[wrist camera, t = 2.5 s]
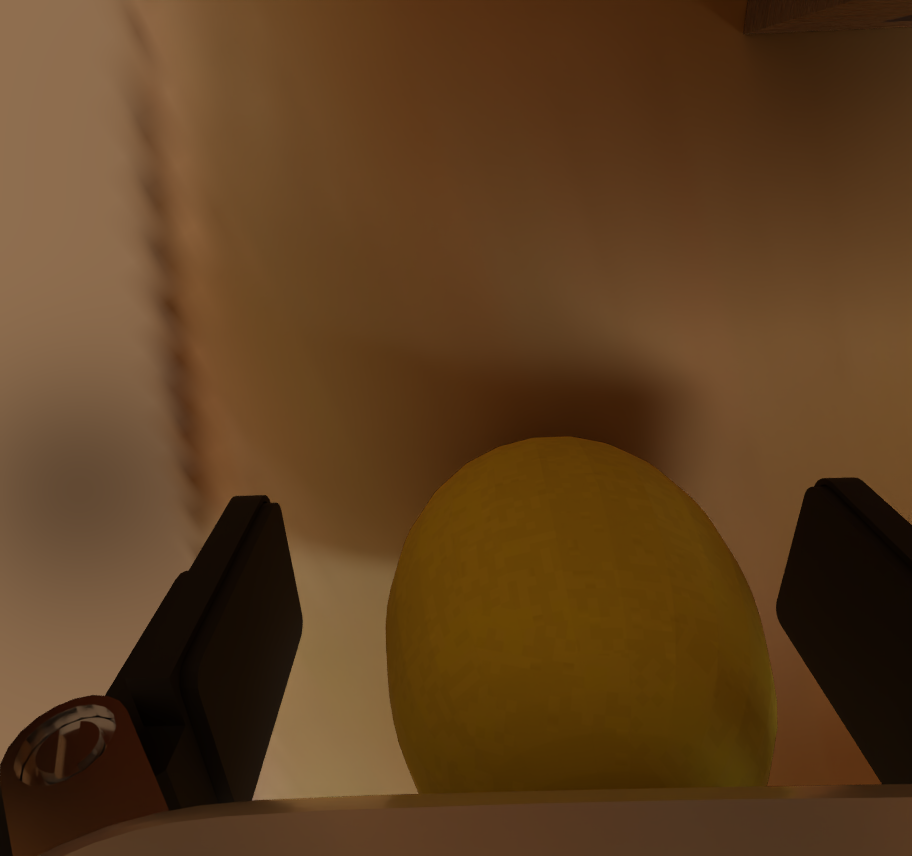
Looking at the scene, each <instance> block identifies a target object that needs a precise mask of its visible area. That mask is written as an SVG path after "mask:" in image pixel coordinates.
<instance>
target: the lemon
mask: <svg viewBox="0 0 912 856" xmlns="http://www.w3.org/2000/svg"><path fill="white" fill-rule="evenodd" d="M386 653H387V671H388V685H389V696H390V703H391V709H392V715H393V721H394V725H395V729H396V733H397V738H398V742H399V745H400V747H401V750H402V753H403V756H404V758H405V761H406V764H407V766H408V769H409V771H410V774H411V776H412V778H413V781H414V783H415V785H416V788H417V790H418V793H419V794H440V793H477V792H515V791H556V790H602V789H649V788H699V787H751V786H767V784H768V779H769V774H770V768H771V763H772V757H773V751H774V745H775V739H776V733H777V700H776V693H775V687H774V680H773V674H772V669H771V664H770V660H769V655H768V650H767V645H766V640H765V636H764V632H763V628H762V623H761V619H760V616H759V613H758V610H757V607H756V604H755V600H754V598H753V595H752V593H751V590H750V588H749V585H748V583H747V580H746V578H745V576H744V574H743V573H742V571H741V569H740V567H739V565H738V563H737V561H736V560H735V558H734V556H733V555H732V553H731V552H730V550H729V548H728V547H727V545H726V544H725V542H724V541H723V539H722V537H721V536H720V534H719V533H718V531H717V529H716V528H715V526H714V525H713V524H712V522H711V521H710V519H709V518H708V516H707V515H706V514H705V512H704V511H703V510H702V509H701V508H700V506H699V505H698V504H697V503H696V502H695V501H694V500H693V499H692V498H691V497H690V496H689V495H687V494H686V493H685V492H684V491H683V490H682V489H681V488H679V487H678V486H677V485H676V484H675V483H673V482H672V481H671V480H670V479H669V478H668V477H666V476H665V475H664V474H663V473H662V472H660V471H659V470H658V469H657V468H655V467H654V466H652V465H651V464H649V463H648V462H646V461H644V460H642V459H640V458H638V457H636V456H634V455H631V454H629V453H627V452H625V451H623V450H621V449H618V448H616V447H614V446H612V445H609V444H607V443H603V442H598V441H592V440H587V439H582V438H577V437H571V436H563V437H538V438H530V439H526V440H522V441H519V442H515V443H511V444H507V445H503V446H499V447H497V448H495V449H493V450H491V451H489V452H487V453H485V454H483V455H482V456H480V457H478V458H476V459H474V460H472V461H470V462H468V463H467V464H465V465H464V466H463V467H462V468H461V469H460V470H459V471H458V472H456V473H455V474H454V475H453V476H452V477H451V478H450V479H449V480H447V481H446V482H445V483H444V484H443V485H442V486H441V487H440V488H439V489H438V490H437V491H436V492H435V493H434V494H433V496H432V498H431V499H430V501H429V502H428V504H427V505H426V507H425V508H424V510H423V511H422V513H421V514H420V516H419V517H418V519H417V520H416V522H415V523H414V525H413V526H412V528H411V529H410V532H409V534H408V536H407V538H406V540H405V543H404V546H403V549H402V552H401V555H400V559H399V562H398V566H397V569H396V572H395V576H394V579H393V583H392V586H391V590H390V595H389V600H388V605H387V616H386Z"/></svg>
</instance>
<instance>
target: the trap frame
mask: <svg viewBox="0 0 912 856" xmlns="http://www.w3.org/2000/svg"><path fill="white" fill-rule="evenodd" d="M898 27H912V0H748V5H747V12H746V19H745V25H744V32H743V34H763V33H786V32H808V31H831V30H853V29H876V28H898Z"/></svg>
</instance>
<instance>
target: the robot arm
mask: <svg viewBox="0 0 912 856" xmlns="http://www.w3.org/2000/svg"><path fill="white" fill-rule="evenodd" d="M776 612H777V617H778V620H779V622H780V624H781V626H782V628H783V629H784V631H785V632H786V634H787V635H788V637H789V639H790V640H791V642H792V643H793V645H794V646H795V648H796V650H797V651H798V653H799V654H800V656H801V657H802V659H803V661H804V662H805V664H806V665H807V667H808V668H809V670H810V672H811V673H812V675H813V676H814V678H815V679H816V681H817V683H818V684H819V686H820V687H821V689H822V690H823V692H824V694H825V695H826V697H827V698H828V700H829V701H830V703H831V705H832V706H833V708H834V709H835V711H836V712H837V714H838V716H839V717H840V719H841V720H842V722H843V723H844V725H845V727H846V728H847V730H848V731H849V733H850V734H851V736H852V738H853V739H854V741H855V742H856V744H857V745H858V747H859V749H860V750H861V752H862V753H863V755H864V756H865V758H866V760H867V761H868V763H869V764H870V766H871V767H872V769H873V771H874V772H875V774H876V775H877V777H878V778H879V780H880V782H881V783H882V785H816V786H751V787H699V788H649V789H602V790H556V791H515V792H477V793H440V794H402V795H365V796H342V797H319V798H297V799H274V800H254V801H252V798H253V795H254V791H255V788H256V785H257V781H258V778H259V775H260V771H261V768H262V765H263V761H264V758H265V755H266V751H267V748H268V745H269V741H270V738H271V735H272V731H273V728H274V725H275V721H276V718H277V715H278V711H279V708H280V705H281V702H282V698H283V695H284V692H285V688H286V685H287V682H288V678H289V675H290V672H291V668H292V665H293V662H294V658H295V655H296V652H297V648H298V645H299V642H300V638H301V634H302V626H303V619H302V612H301V607H300V602H299V597H298V592H297V587H296V582H295V577H294V572H293V567H292V562H291V557H290V552H289V547H288V542H287V537H286V532H285V527H284V522H283V517H282V512H281V508H280V505H279V504H278V503H271V502H270V500H269V498H268V497H267V496H266V495H256V496H235V497H233V498H232V499H231V500H230V502H229V503H228V505H227V507H226V509H225V510H224V512H223V514H222V515H221V517H220V519H219V520H218V522H217V524H216V525H215V527H214V529H213V531H212V532H211V534H210V536H209V537H208V539H207V541H206V542H205V544H204V546H203V547H202V549H201V551H200V553H199V554H198V556H197V558H196V559H195V561H194V563H193V564H192V566H191V568H190V569H189V571H185V572H183V573H181V574H180V575H179V576H178V577H177V579H176V580H175V581H174V583H173V585H172V586H171V588H170V590H169V591H168V593H167V595H166V596H165V598H164V600H163V601H162V603H161V605H160V606H159V608H158V609H157V611H156V613H155V614H154V616H153V618H152V619H151V621H150V622H149V624H148V626H147V627H146V629H145V631H144V632H143V634H142V636H141V637H140V639H139V641H138V642H137V644H136V646H135V647H134V649H133V650H132V652H131V654H130V655H129V657H128V659H127V660H126V662H125V664H124V665H123V667H122V668H121V670H120V672H119V673H118V675H117V677H116V679H115V680H114V682H113V684H112V685H111V687H110V688H109V690H108V691H107V693H106V695H105V696H97V695H91V696H86V697H81V698H77V699H73V700H70V701H68V702H65V703H63V704H61V705H58V706H56V707H54V708H52V709H51V710H49V711H47V712H46V713H44V714H43V715H41V716H39V717H38V718H36V719H35V720H34V721H33V722H32V723H31V724H29V725H28V726H27V727H26V728H25V729H24V730H22V731H21V732H20V733H19V735H18V736H17V737H16V739H15V740H14V741H13V742H12V743H11V745H10V746H9V747H8V749H7V751H6V753H5V755H4V758H3V760H2V762H1V764H0V856H912V525H911V524H910V523H909V522H908V521H906V520H905V519H904V518H903V517H902V516H901V515H900V514H899V513H898V512H896V511H895V510H894V509H893V508H892V507H891V506H890V505H889V504H888V503H886V502H885V501H884V500H883V499H882V498H881V497H880V496H879V495H878V494H876V493H875V492H874V491H873V490H872V489H871V488H870V487H869V486H868V485H866V484H865V483H864V482H863V481H862V480H860V479H858V478H822V479H820V480H818V481H817V483H816V484H815V486H814V487H810V488H808V489H807V491H806V493H805V495H804V499H803V503H802V507H801V511H800V514H799V518H798V522H797V526H796V530H795V534H794V537H793V541H792V545H791V549H790V553H789V557H788V560H787V564H786V568H785V572H784V576H783V579H782V583H781V587H780V591H779V595H778V599H777V603H776Z"/></svg>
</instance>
